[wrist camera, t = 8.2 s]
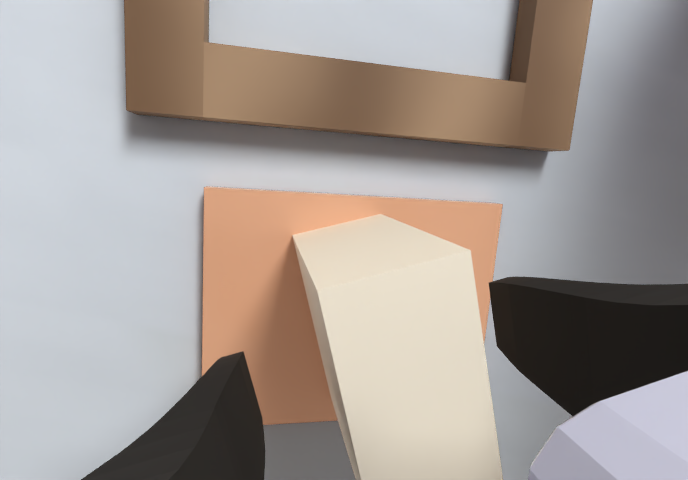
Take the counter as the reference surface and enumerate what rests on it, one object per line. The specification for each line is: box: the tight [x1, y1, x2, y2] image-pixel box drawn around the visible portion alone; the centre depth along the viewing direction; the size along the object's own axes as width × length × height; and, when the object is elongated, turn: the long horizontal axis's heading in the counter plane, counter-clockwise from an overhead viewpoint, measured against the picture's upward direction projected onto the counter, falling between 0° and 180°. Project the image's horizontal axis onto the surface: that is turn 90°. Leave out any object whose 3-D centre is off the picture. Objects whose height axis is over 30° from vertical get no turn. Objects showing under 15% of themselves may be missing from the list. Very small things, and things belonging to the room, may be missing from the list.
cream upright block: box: [292, 214, 503, 480], centre depth 11 cm, size 3×6×6 cm, turn 11°
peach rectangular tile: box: [202, 186, 503, 425], centre depth 14 cm, size 10×8×1 cm
